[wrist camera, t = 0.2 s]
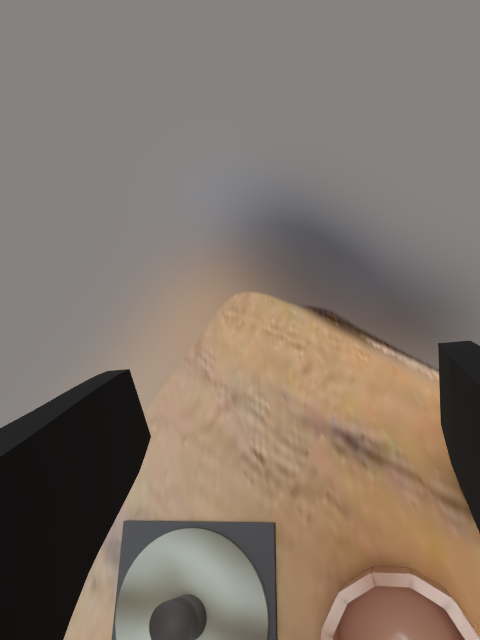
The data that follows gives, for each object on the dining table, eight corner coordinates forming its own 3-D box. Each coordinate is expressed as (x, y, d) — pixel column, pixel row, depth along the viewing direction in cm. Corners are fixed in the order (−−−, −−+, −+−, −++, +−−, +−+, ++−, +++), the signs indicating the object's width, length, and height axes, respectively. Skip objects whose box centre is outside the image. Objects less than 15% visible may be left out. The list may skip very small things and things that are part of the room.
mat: (279, 735, 33) (277, 738, 33) (107, 711, 37) (104, 713, 36) (275, 522, 39) (273, 522, 38) (126, 520, 42) (123, 520, 42)
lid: (270, 728, 33) (255, 754, 29) (110, 706, 36) (78, 727, 33) (268, 529, 38) (254, 530, 34) (128, 526, 42) (102, 527, 38)
